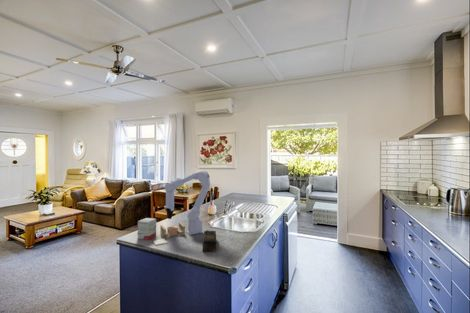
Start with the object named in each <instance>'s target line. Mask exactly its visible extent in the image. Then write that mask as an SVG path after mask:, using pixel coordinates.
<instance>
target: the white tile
mask: <svg viewBox="0 0 470 313" xmlns="http://www.w3.org/2000/svg"><path fill="white" fill-rule="evenodd" d="M152 242H153V243H154V246H160V245H161V246H162V245H165V244H168V241H167V240H166V238H165V239H164V238H161V239H155V240H153V241H152Z"/></svg>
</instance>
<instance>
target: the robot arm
mask: <svg viewBox="0 0 470 313" xmlns="http://www.w3.org/2000/svg"><path fill="white" fill-rule="evenodd" d="M192 180H198V181H199V182H200V184H201V189H200V190H199V194H198V195H197V198H196V200H195V201H194V202H195V203H194V204H193V207H192V208H191V210H190V212H188V214H187V219H188V230H185V233H188V235H190V236H191V235H196V234H197V235H198V234H202V233H203V234H204V232H203V220H202V219H201V218H199V216H200V214H201V213H200V211H201V207H202V205H203V203H204V200H205V199H206V196H207V194H208V191H209V189H210V187H211V181H210V174H209V173H208V171H206V170H202V171H198V172H195V173H192V174H190V175H187V176H186V177H184V178H181V177H177V178H176V179H175V180H171V181H170V182H168V183H166V184H165V186H164V190H165V205H164V206H163V207H164V208H165V209H164V210H165V211H166V215H167V219H168V220H170V219H172V217H173V214H174V212H175V190H176V189H178V188H181V187H183V186H184V185H185V184H186V183H188V182H190V181H192Z"/></svg>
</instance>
